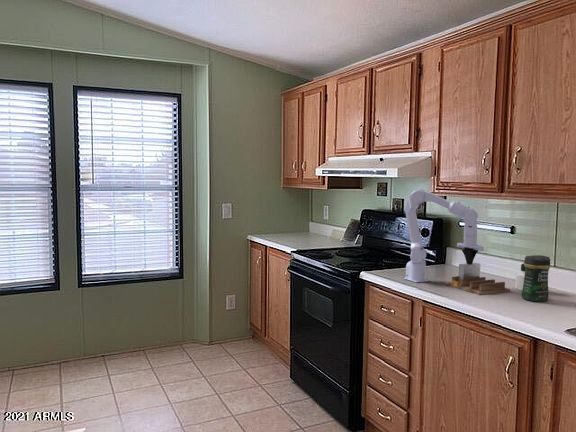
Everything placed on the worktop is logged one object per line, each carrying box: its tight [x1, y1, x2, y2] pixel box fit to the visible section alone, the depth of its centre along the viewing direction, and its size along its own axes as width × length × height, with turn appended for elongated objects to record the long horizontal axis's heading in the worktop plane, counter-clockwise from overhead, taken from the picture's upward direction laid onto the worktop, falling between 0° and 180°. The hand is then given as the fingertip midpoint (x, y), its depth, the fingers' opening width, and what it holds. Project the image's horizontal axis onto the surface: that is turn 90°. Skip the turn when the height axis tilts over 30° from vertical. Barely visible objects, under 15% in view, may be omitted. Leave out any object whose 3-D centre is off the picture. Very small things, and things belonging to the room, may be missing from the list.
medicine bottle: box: [514, 262, 525, 292], centre depth 217 cm, size 7×7×12 cm
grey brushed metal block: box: [458, 262, 481, 284], centre depth 225 cm, size 3×10×9 cm, turn 113°
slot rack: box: [446, 275, 511, 295], centre depth 220 cm, size 20×18×4 cm
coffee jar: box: [521, 254, 551, 303], centre depth 200 cm, size 10×8×19 cm
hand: (469, 264), depth 225 cm, fingers closed, pressing on grey brushed metal block
